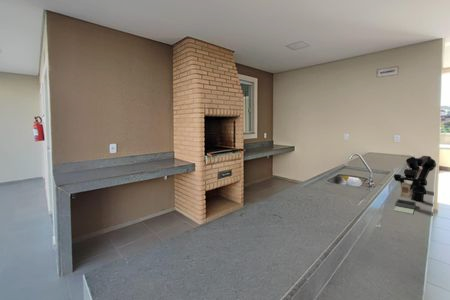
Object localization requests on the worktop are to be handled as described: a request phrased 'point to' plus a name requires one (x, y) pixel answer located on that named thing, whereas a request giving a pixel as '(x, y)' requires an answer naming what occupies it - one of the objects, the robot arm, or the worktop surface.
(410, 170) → the robot arm
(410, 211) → the sage mat
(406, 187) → the birch box
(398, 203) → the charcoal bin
